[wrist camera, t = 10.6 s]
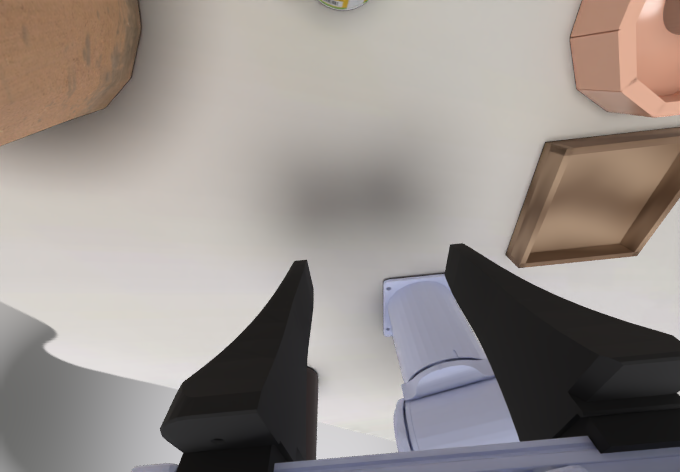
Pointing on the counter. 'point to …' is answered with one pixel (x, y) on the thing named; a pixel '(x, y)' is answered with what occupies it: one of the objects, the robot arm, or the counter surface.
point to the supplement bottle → (343, 4)
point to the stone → (672, 16)
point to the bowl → (627, 57)
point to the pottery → (62, 60)
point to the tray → (597, 198)
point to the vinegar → (311, 414)
